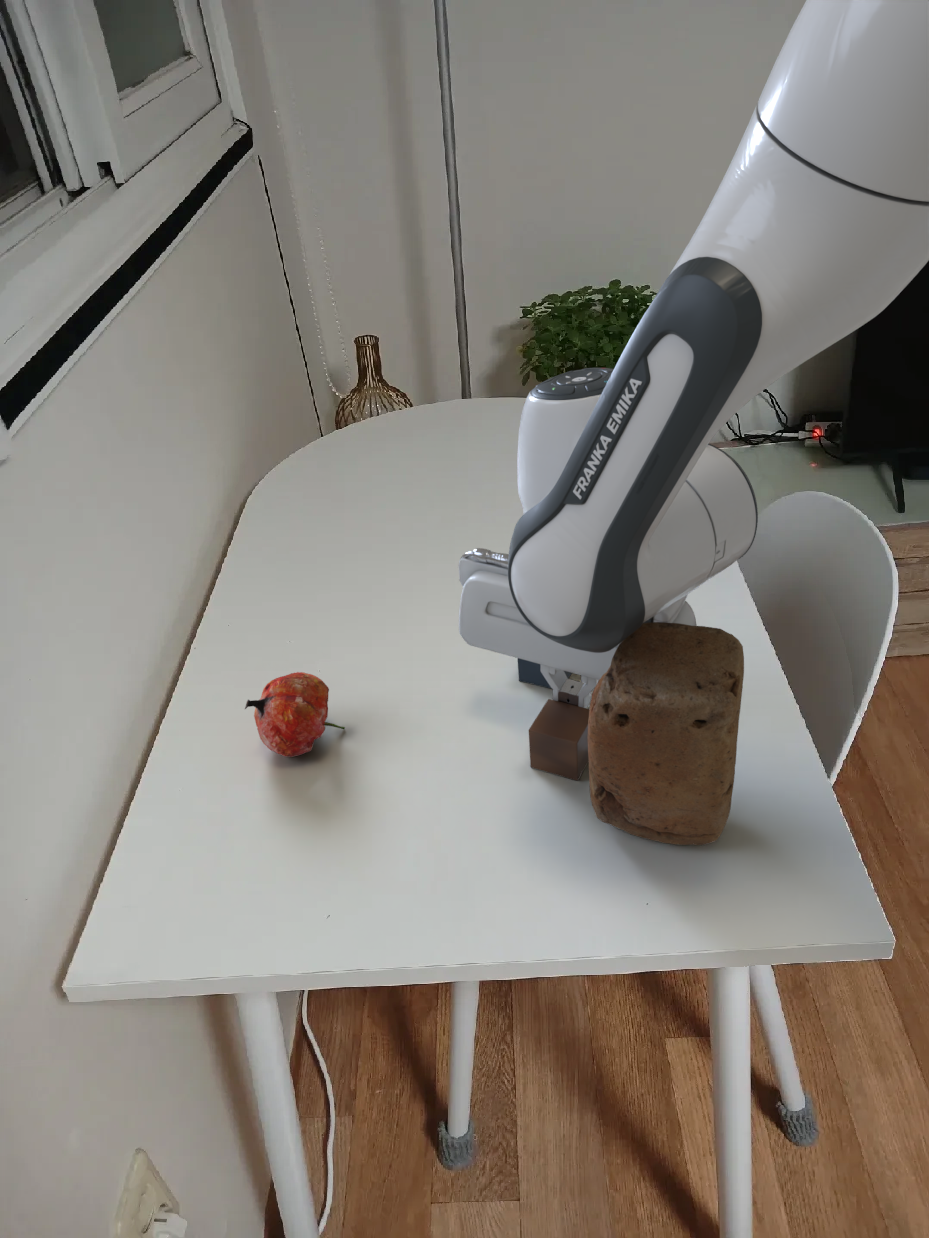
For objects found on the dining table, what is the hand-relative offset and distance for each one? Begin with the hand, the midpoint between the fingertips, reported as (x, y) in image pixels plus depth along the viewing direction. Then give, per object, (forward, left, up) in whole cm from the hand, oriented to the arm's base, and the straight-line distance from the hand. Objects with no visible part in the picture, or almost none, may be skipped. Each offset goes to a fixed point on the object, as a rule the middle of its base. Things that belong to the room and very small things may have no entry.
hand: (571, 702), depth 83 cm
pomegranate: (+23, +9, -4) cm, 25 cm away
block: (-10, +6, -3) cm, 12 cm away
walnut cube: (0, +3, -4) cm, 5 cm away
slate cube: (+5, -8, -4) cm, 10 cm away
